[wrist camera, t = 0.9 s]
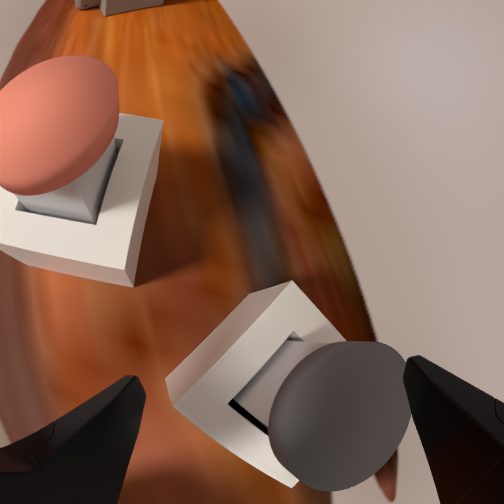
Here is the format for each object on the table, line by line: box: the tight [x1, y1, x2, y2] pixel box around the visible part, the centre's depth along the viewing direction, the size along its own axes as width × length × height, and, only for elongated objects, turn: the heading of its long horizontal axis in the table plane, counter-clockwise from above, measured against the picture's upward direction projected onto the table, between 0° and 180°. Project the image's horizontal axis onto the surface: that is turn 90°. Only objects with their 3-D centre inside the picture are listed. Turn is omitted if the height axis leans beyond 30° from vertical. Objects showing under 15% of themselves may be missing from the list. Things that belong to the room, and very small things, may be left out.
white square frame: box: [0, 113, 164, 288], centre depth 15 cm, size 9×9×7 cm
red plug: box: [0, 55, 119, 225], centre depth 11 cm, size 6×6×8 cm
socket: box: [165, 281, 346, 488], centre depth 17 cm, size 9×9×7 cm
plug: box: [233, 340, 411, 491], centre depth 12 cm, size 6×6×8 cm
